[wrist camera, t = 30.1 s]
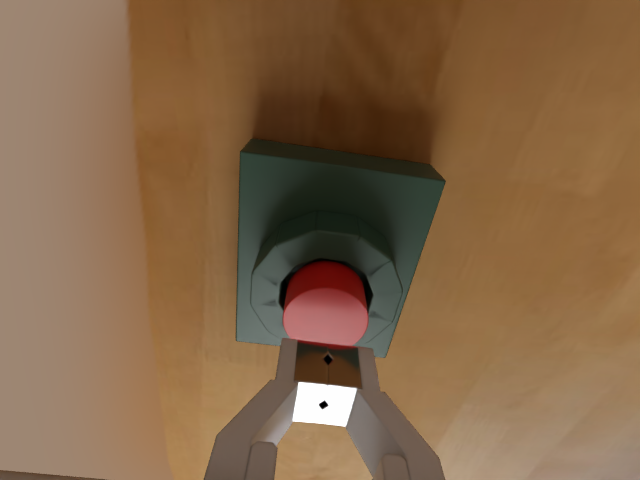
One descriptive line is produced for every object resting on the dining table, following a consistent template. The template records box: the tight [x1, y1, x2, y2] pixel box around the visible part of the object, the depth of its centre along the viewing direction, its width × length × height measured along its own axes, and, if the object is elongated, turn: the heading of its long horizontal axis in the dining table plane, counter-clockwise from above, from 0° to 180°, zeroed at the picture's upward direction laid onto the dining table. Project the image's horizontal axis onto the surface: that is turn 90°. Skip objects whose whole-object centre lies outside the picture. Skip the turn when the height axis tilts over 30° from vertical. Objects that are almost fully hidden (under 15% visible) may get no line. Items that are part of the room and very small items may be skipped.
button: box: [282, 261, 369, 346], centre depth 13 cm, size 3×3×2 cm
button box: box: [236, 139, 446, 358], centre depth 15 cm, size 10×8×4 cm
